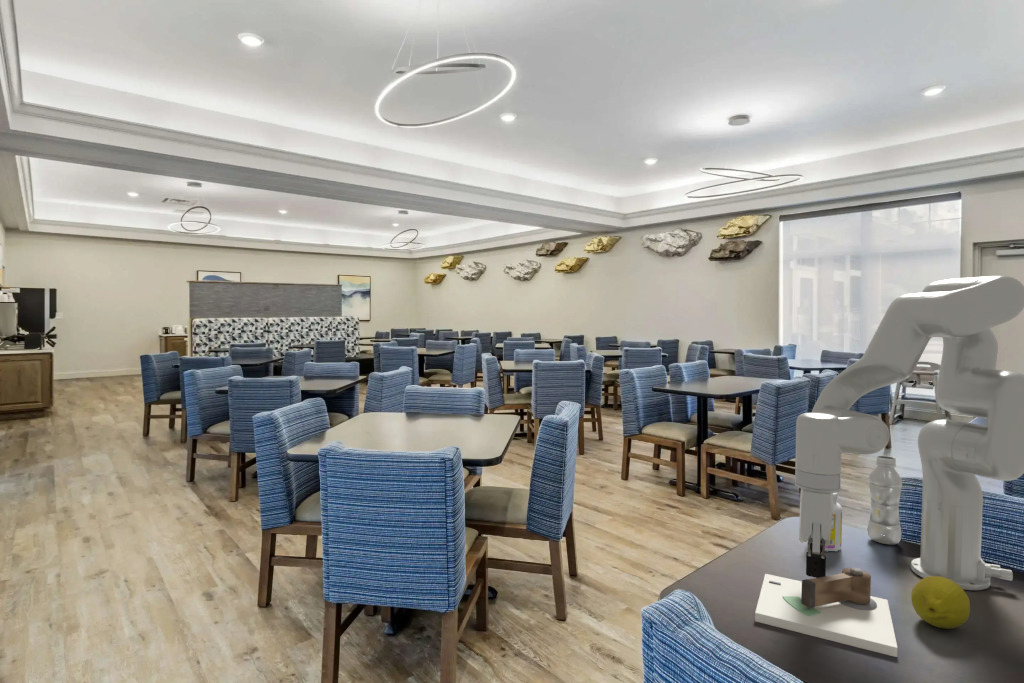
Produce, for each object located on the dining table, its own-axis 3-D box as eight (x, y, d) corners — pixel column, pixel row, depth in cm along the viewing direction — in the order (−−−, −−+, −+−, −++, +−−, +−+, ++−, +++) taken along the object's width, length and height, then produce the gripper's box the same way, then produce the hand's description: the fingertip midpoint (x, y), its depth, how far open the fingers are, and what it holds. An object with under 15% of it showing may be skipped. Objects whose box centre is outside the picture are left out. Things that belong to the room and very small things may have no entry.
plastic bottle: (906, 549, 125) (909, 461, 124) (873, 546, 126) (876, 460, 126) (893, 538, 131) (895, 455, 131) (861, 536, 133) (864, 453, 132)
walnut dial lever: (853, 590, 101) (854, 563, 101) (876, 601, 97) (877, 573, 97) (795, 601, 97) (795, 573, 97) (816, 614, 93) (816, 585, 92)
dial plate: (887, 607, 99) (887, 598, 99) (897, 657, 84) (897, 646, 84) (765, 581, 109) (765, 572, 109) (755, 621, 94) (755, 611, 94)
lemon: (926, 607, 99) (928, 563, 99) (980, 627, 93) (982, 581, 92) (896, 623, 94) (898, 577, 94) (951, 646, 87) (953, 597, 87)
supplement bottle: (823, 539, 130) (824, 485, 130) (848, 550, 124) (849, 494, 124) (801, 543, 128) (802, 488, 128) (825, 554, 122) (826, 497, 121)
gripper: (796, 467, 112) (794, 556, 112) (793, 487, 99) (791, 587, 99) (839, 472, 108) (837, 564, 109) (842, 493, 95) (839, 598, 96)
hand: (815, 575), depth 104 cm, fingers closed
